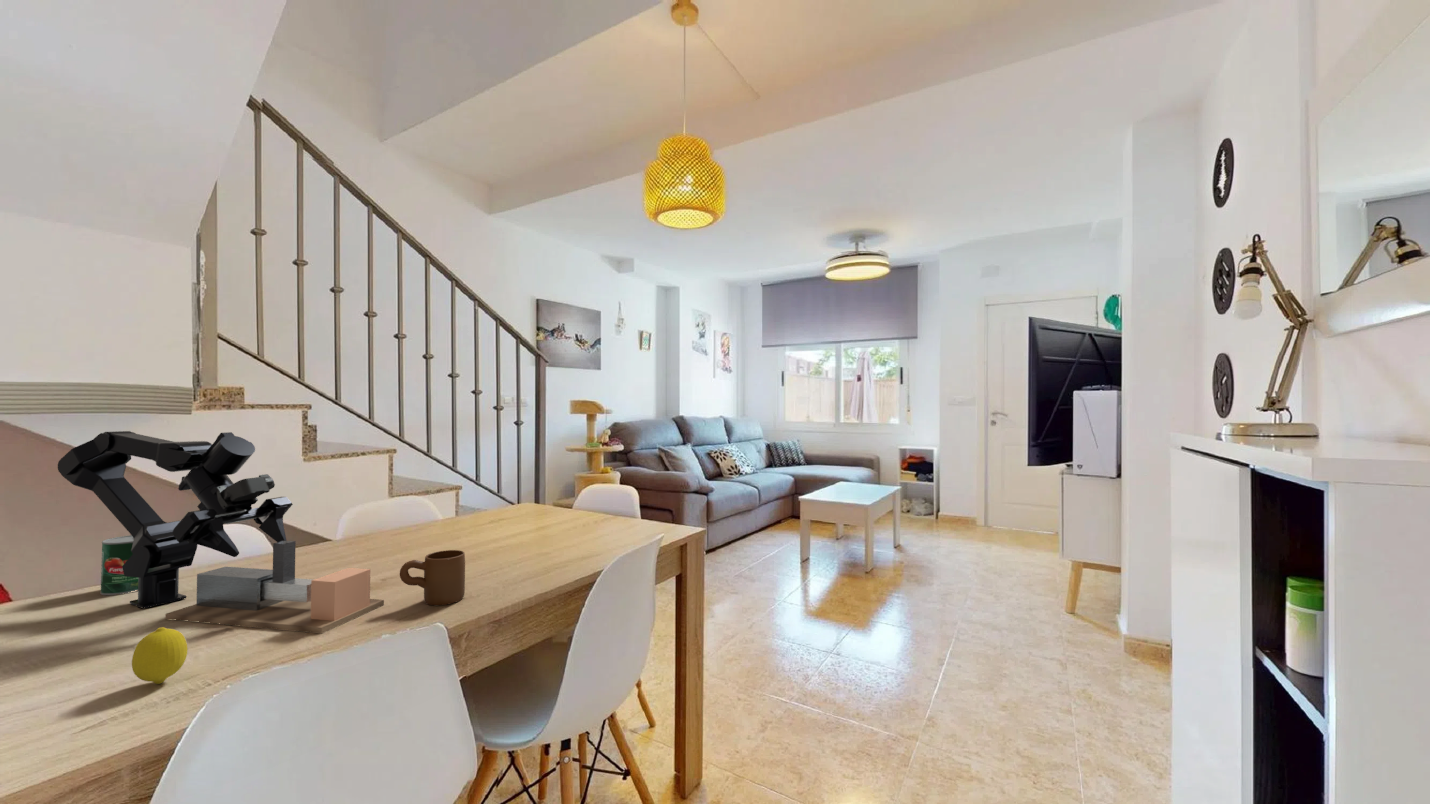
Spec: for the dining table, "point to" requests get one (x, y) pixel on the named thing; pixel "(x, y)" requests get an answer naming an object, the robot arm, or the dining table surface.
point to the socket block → (340, 593)
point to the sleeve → (233, 588)
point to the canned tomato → (116, 566)
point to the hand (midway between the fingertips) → (261, 549)
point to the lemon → (159, 655)
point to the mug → (439, 576)
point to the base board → (269, 616)
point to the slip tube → (285, 577)
